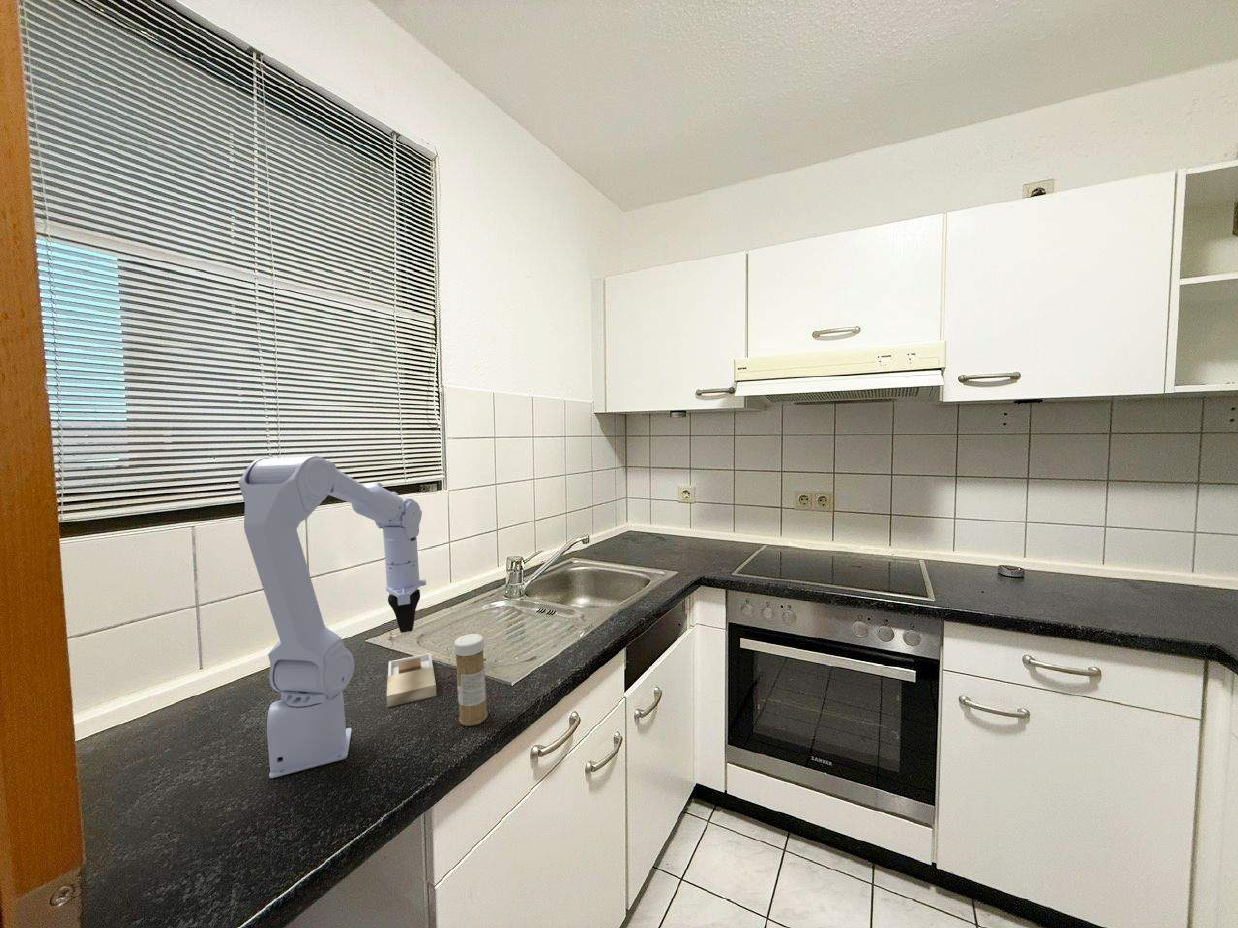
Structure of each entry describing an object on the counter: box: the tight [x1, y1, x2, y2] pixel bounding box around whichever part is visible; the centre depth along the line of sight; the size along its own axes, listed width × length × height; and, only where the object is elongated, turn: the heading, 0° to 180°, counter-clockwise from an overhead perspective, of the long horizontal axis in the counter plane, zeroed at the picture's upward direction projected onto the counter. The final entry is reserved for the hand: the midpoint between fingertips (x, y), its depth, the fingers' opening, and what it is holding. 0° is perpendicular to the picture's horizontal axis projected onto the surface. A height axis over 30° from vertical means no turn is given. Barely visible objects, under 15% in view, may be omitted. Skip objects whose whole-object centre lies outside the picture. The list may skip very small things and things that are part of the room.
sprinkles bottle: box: [453, 633, 488, 727], centre depth 80 cm, size 5×5×14 cm
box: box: [387, 652, 434, 677], centre depth 98 cm, size 8×8×2 cm
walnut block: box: [399, 658, 421, 674], centre depth 97 cm, size 4×4×2 cm
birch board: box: [386, 666, 437, 708], centre depth 91 cm, size 8×8×2 cm
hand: (406, 630), depth 95 cm, fingers closed
